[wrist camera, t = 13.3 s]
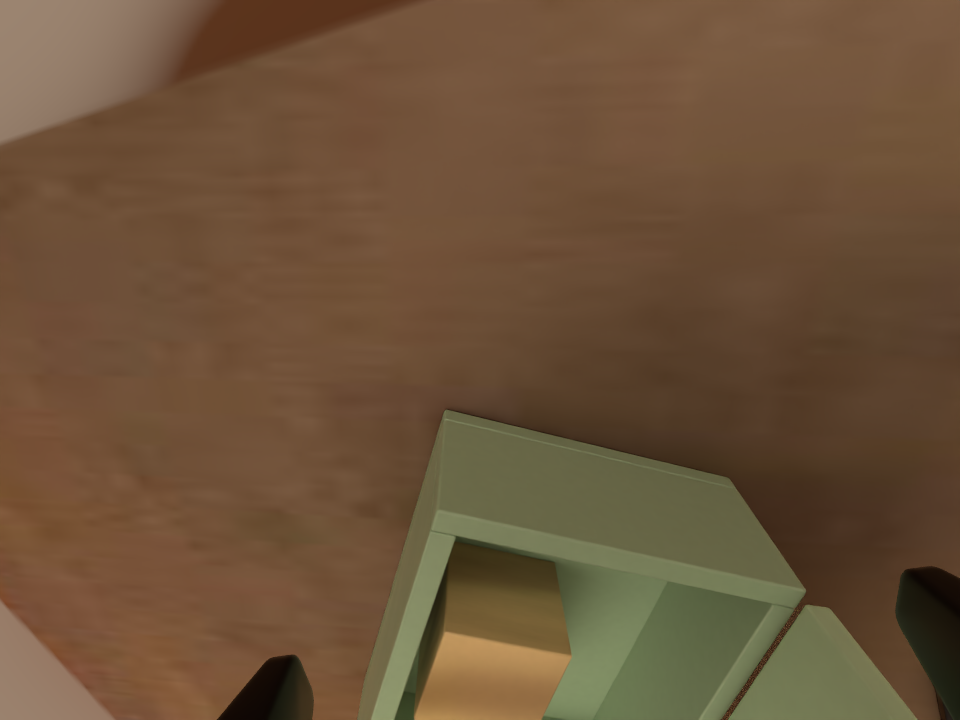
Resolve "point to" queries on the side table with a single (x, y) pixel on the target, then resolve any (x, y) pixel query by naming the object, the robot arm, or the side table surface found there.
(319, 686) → the side table surface
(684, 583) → the chest
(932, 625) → the robot arm
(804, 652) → the lid
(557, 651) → the block
